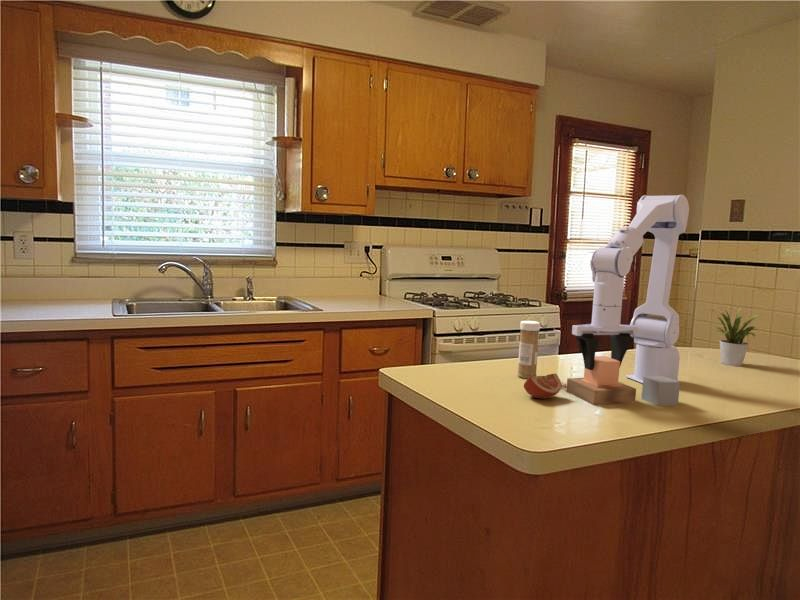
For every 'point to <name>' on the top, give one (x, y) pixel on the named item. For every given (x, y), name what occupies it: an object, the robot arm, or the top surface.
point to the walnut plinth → (600, 392)
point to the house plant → (734, 340)
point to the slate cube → (660, 390)
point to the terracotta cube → (603, 371)
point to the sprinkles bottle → (528, 349)
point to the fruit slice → (543, 386)
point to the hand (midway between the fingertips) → (602, 368)
